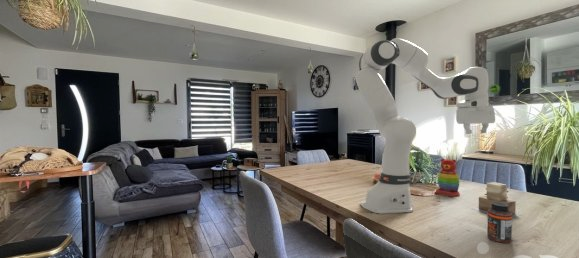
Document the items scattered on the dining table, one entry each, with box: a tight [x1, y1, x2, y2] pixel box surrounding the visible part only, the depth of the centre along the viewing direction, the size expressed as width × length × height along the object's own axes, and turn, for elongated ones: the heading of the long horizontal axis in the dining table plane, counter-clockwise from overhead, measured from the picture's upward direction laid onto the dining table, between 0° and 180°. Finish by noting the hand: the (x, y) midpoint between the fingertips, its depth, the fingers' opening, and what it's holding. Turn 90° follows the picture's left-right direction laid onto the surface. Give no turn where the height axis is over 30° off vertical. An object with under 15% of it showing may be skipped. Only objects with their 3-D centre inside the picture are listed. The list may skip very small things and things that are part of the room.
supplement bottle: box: [486, 202, 513, 244], centre depth 82 cm, size 6×6×11 cm
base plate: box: [470, 206, 524, 218], centre depth 103 cm, size 12×12×1 cm
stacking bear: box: [434, 158, 461, 198], centre depth 132 cm, size 11×10×18 cm
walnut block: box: [478, 195, 517, 215], centre depth 103 cm, size 7×9×5 cm
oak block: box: [486, 181, 508, 201], centre depth 103 cm, size 4×4×6 cm
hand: (476, 133), depth 119 cm, fingers open, 8 cm apart
